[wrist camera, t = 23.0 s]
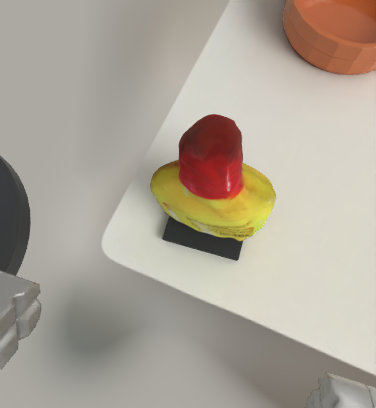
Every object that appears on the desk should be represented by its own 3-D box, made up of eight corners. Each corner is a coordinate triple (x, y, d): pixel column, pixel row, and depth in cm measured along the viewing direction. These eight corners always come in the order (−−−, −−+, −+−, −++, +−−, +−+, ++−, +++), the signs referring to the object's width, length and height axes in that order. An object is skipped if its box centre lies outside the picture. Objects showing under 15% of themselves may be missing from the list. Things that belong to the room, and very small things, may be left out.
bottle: (153, 225, 39) (109, 152, 20) (168, 176, 41) (141, 66, 22) (253, 252, 38) (308, 201, 19) (264, 200, 40) (326, 106, 21)
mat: (163, 240, 40) (162, 238, 39) (184, 171, 42) (184, 168, 41) (237, 260, 39) (238, 259, 38) (254, 190, 41) (256, 187, 40)
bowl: (269, 61, 46) (278, 31, 41) (294, -32, 51) (305, -70, 46) (399, 89, 45) (425, 61, 39) (412, -10, 49) (438, -47, 44)
